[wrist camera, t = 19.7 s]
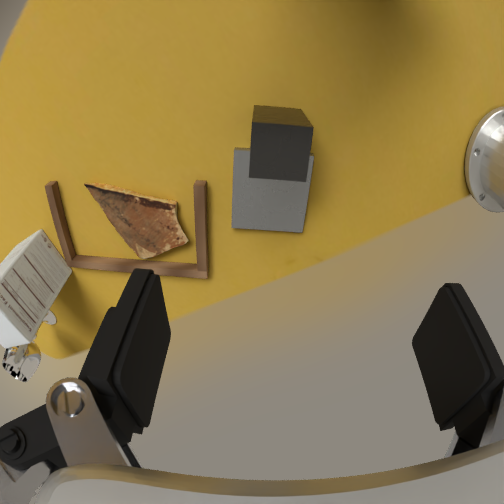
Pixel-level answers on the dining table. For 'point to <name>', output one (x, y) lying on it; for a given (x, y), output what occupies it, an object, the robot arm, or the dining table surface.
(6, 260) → the supplement box
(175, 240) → the shard
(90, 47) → the dining table surface
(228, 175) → the dining table surface
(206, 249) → the frame
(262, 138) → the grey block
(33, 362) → the wineglass
